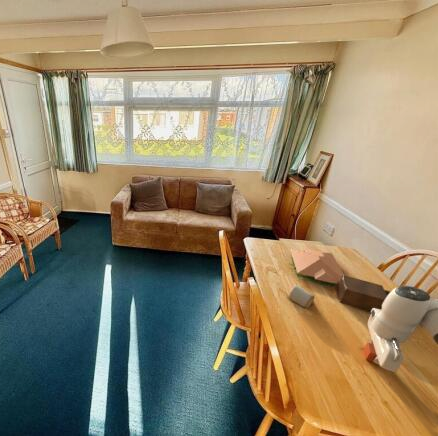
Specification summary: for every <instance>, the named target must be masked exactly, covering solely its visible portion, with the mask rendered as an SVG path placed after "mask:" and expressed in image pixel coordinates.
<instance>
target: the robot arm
mask: <svg viewBox="0 0 438 436" xmlns="http://www.w3.org/2000/svg"><path fill="white" fill-rule="evenodd" d="M390 291H391V292H390V293H389V294H388V296H387V297H386V298H385V300H384V302H383V304H382V309H381V310H379V309H375V308H372V310H371V312H370V315H369V318H368V320H367V328H368V331H369V334H370V342H369V343H371V344H374V348H375V351H376V354H377V357H376V356H374V358H373V361H374V363H373V364H375V363H376V364H375V365H378V364H379V365H378V366H379V367H380V368H382V369H384V370H387V371H389V372H392V373H396V372H398V370H399V368H400V367H401V365H402V362H403V360H404V353H403V350H402V348H401V345H400V344H406V343H407V342H408V341H409V340H410V338H411V337H412V335H413V333H414V332H415V329H416V328H421V329H423V330H424V331H425V332H426V333H427V334H428V335H429V336H430V337H431V338H432V339H433V341H434V342H435V343H436V345H437V346H438V297H433V296H431V295H430V294H429V293H428V292H426V291H425V290H423V289H421V288H418V287H415V286H410V285H398V286H397V287H394V288H393V289H392V290H390Z"/></svg>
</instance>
